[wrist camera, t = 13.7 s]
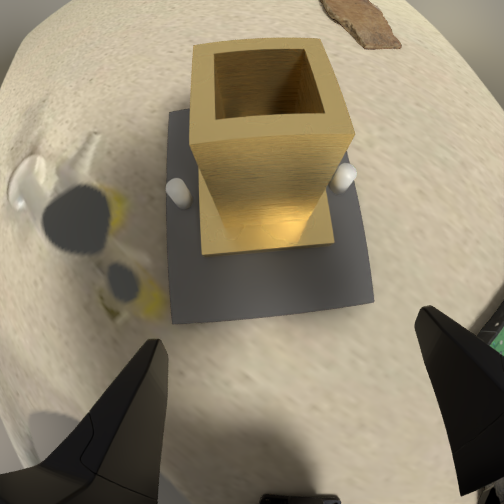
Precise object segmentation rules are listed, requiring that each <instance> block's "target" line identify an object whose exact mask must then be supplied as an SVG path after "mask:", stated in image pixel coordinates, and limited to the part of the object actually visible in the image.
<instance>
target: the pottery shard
mask: <svg viewBox="0 0 504 504" xmlns="http://www.w3.org/2000/svg"><path fill="white" fill-rule="evenodd" d="M320 2H321V3H323V6H324V8H325V10H326V11H327V13H328V14H329V16H330V17H331V18H332V19H335V20H337V21H338V22H339V23H340V24H341V25H342V26H343V28H345V30H346V31H347V32H349V33H350V34H351V35H352V36H353V37H354V38H355V40H356V42H357V43H358V44H360V45H361V46H362V47H364V49H368V50H369V49H370V50H375V49H400V48H401V47H402V45H401V43H400V42H399V40H398V39H397V38H396V37H395V36H394V35H393V33H392V29H391V28H390V26H389V25H388V22H387V20H385V18H384V17H383V13H382V12H381V11H380V9H379V8H378V7H377V6H375V5H374V4H372V3H371V2H370V1H369V0H320Z"/></svg>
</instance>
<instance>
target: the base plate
mask: <svg viewBox="0 0 504 504" xmlns="http://www.w3.org/2000/svg"><path fill="white" fill-rule="evenodd" d="M189 126H190V109H184V110H179V111H173V112H169V126H168V146H167V182H166V216H167V253H168V273H169V289H170V303H171V315H172V324H187V323H204V322H218V321H231V320H243V319H253V318H263V317H273V316H282V315H291V314H299V313H307V312H315V311H322V310H329V309H336V308H343V307H349V306H356V305H362V304H368V303H374V294H373V285H372V277H371V270H370V263H369V256H368V250H367V243H366V238H365V232H364V226H363V221H362V216H361V211H360V206H359V201H358V196H357V192H356V187H355V183H354V179H355V178H356V175H357V171H356V169H355V167H354V166H353V165H351V164H350V162H349V158H348V155H347V151H346V152H345V154H344V156H343V158H342V160H341V162H340V163H339V165H338V167H337V169H336V171H335V173H334V174H333V176H332V178H331V180H330V182H329V183H328V185H327V187H326V193H327V199H328V205H329V210H330V216H331V223H332V229H333V236H334V242H335V243H334V244H332V245H331V246H325V247H314V248H303V249H292V250H281V251H271V252H260V253H249V254H238V255H227V256H216V257H204V256H203V255H202V249H201V229H200V205H199V167H198V164H197V162H196V159H195V157H194V155H193V152H192V150H191V148H190V145H189Z"/></svg>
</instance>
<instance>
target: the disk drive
mask: <svg viewBox="0 0 504 504" xmlns="http://www.w3.org/2000/svg"><path fill="white" fill-rule="evenodd" d="M477 337H478V338H480V339H481V340H483V341H484V342H485V343H487V344H488V345H489V346H491V347H492V348H494V349H495V350H496V351H498V352H499V353H500V354H502V355H503V356H504V301H503V302H502V304H501V305H500V306H499V308H498V309H497V311H496V312H495V313H494V315H493V316H492V317H491V319H490V320H489V321H488V322H487V323H486V324H485V326H484V327H483V328H482V330H481V331H480V333H479V334H478V335H477Z"/></svg>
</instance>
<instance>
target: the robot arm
mask: <svg viewBox="0 0 504 504" xmlns="http://www.w3.org/2000/svg"><path fill="white" fill-rule="evenodd" d="M415 331H416V335H417V338H418V342H419V345H420V349H421V353H422V356H423V360H424V363H425V366H426V369H427V372H428V375H429V378H430V380H431V383H432V386H433V389H434V392H435V395H436V398H437V401H438V404H439V408H440V411H441V414H442V417H443V421H444V424H445V428H446V431H447V435H448V439H449V443H450V447H451V451H452V456H453V460H454V465H455V469H456V474H457V479H458V485H459V491H460V495H461V496H464V495H466V494H469V493H471V492H474V491H476V490H478V489H480V488H483V487H485V486H487V485H489V484H491V483H493V484H494V485H492V486H491V487H489V488H488V489H487V490H485V491H484V492H483V493H482V495H481V497H480V499H479V502H478V504H504V356H503V355H502V354H500V353H499V352H498V351H496V350H495V349H494V348H492V347H491V346H489V345H488V344H487V343H485V342H484V341H483V340H481V339H480V338H478V337H477V336H476V335H474V334H473V333H471V332H470V331H468V330H467V329H466V328H464V327H463V326H461V325H460V324H458V323H457V322H455V321H454V320H453V319H451V318H450V317H448V316H447V315H445V314H444V313H442V312H441V311H439V310H438V309H436V308H435V307H433V306H431V305H429V306H424V307H422V308H421V309H420V311H419V313H418V316H417V318H416V321H415ZM167 397H168V354H167V352H166V350H165V348H164V345H163V343H162V341H161V340H160V339H148V340H147V341H146V342H145V343H144V344H143V346H142V347H141V348H140V349H139V350H138V352H137V353H136V354H135V355H134V356H133V358H132V359H131V360H130V361H129V363H128V364H127V365H126V366H125V367H124V369H123V370H122V371H121V372H120V374H119V375H118V376H117V377H116V378H115V380H114V381H113V382H112V383H111V385H110V386H109V387H108V388H107V390H106V391H105V392H104V393H103V394H102V396H101V397H100V398H99V399H98V401H97V402H96V403H95V404H94V406H93V407H92V408H91V409H90V411H89V412H90V413H89V412H88V413H87V414H86V416H85V417H84V418H83V419H82V421H81V422H80V423H79V424H78V425H77V427H76V428H75V429H74V430H73V431H72V432H71V433H70V434H69V436H68V437H67V438H66V439H65V440H64V441H63V442H62V443H61V444H60V445H59V446H58V447H57V448H56V449H55V450H54V451H53V452H52V453H51V454H50V455H49V456H48V457H47V458H46V459H45V460H44V461H42V462H41V463H39V464H38V465H35V466H33V467H30V468H26V469H22V470H18V471H14V472H9V473H5V474H0V504H157V503H158V502H157V499H158V486H159V485H158V484H159V473H160V461H161V451H162V441H163V432H164V423H165V415H166V407H167ZM266 499H269V500H266ZM335 502H336V503H335ZM333 503H335V504H341V501H340V499H339V498H312V497H292V496H280V495H270V494H265V495H263V496H262V497H261V498H260V501H259V504H333Z"/></svg>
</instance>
